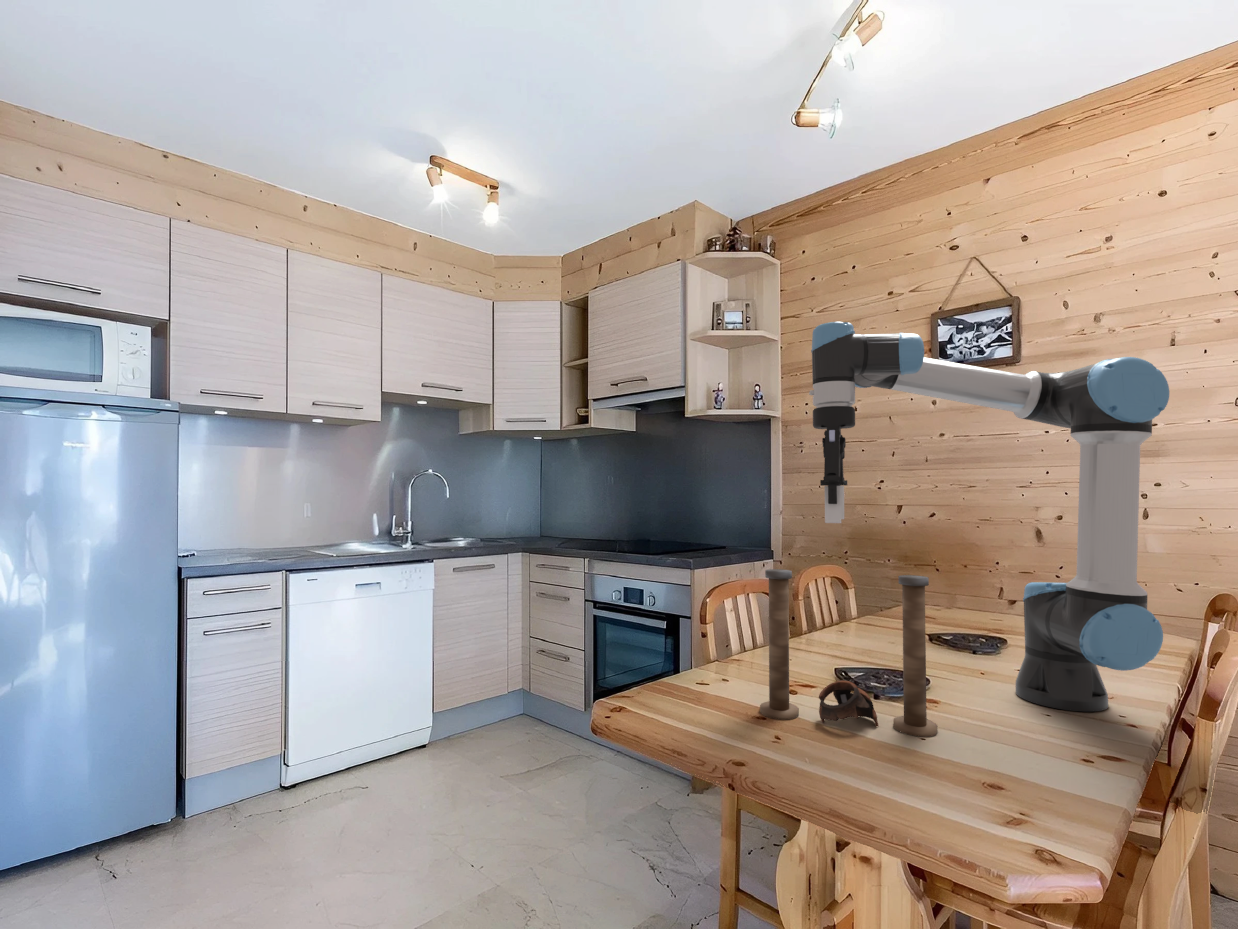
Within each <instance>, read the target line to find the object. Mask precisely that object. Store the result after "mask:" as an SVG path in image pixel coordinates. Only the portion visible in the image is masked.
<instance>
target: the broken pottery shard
mask: <svg viewBox="0 0 1238 929" xmlns="http://www.w3.org/2000/svg"><path fill="white" fill-rule="evenodd" d="M832 693H833V694H832ZM831 694H832V695H833V697H834V699H835V700H836V702H837V704H834V705H833V704H827V703H826V702H825V700H826V698H827V697H828V696H829V695H831ZM818 699H819V700H820V701H819V708H818V714H819V718H820V720H821V722H822V723H825V720H827V721H834V722H838V721H839V720H841V721H843V720H846V719H848V718H849V719H850V718H854V719H856V720H857V719H859V718H868V719H872V721H874V725H875V727H876V726H878V727H879V722H878V715H877V712H876V711H875V707H874V702H872V699H871V697H870V695H869V694H868V693H867V692H866V691H864V690H863V689H861V688H860V687H858V686H857V685H856V684H855V683H854V682H852V681H849V680H843V679H840V680H838V681H834V682H831V683H830V684H828V685H826V686H825V687H823V689H822V690H821V691H820V692H819V694H818ZM858 716H860V717H858Z"/></svg>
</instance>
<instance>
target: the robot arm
mask: <svg viewBox="0 0 1238 929" xmlns="http://www.w3.org/2000/svg"><path fill="white" fill-rule="evenodd" d="M854 328H855V327H854V325H853V324H852V323H851V322H848V321H831V322H825V323H821V324H819V325H816V327H815V328H814V329H813V330H812V340H811V350H810V351H811V352H810V353H811V364H812V365H811V367H812V368H811V371H812V374H811V375H812V389H810V390H809V392H808V394H809V395H810V396H812V405H813V406H814V408H813V410H812V427H813V428H814V429H815V430H816V429H818V430H824V433H823V436H824V437H822V443H821V444H822V448H823V449H822V450H823V451H822V452H823V458H824V467H823V468H824V470H823V471H824V473H823V475H824V476H823V479H820V481H819V482H820V486H821V487H823V486H824V523H825V524H842V520H845V486H848V480H847V479H846V480H845V477H844V459H845V456H846V454H845V449H846V447H847V446H846V440H847V439H846V437H844V436H843V435H842V429H845V430H846V429H851V428H854V427H855V426H856V409H855V407H854V406H853V405H854V404H856V388H859V389H866V388H871V387H872V388H873V387H874V388H878V389H879V388H880V389H885V390H886V389H887V390H892V391H897V392H898V391H899V392H903V393H909V394H913V395H914V394H915V395H919V396H924V397H925V396H926V397H930V398H936V399H940V400H947V401H953V402H957V403H962V404H963V403H964V404H969V405H974V406H980V407H985V408H990V409H995V410H1002V411H1007V412H1012V413H1013V414H1014V416H1015V417H1016V418H1018V419H1021V420H1027V421H1031V422H1037V423H1043V424H1046V425H1051V426H1055V427H1060V428H1066V429H1070V437H1071V438H1072V439H1073V440H1075V441H1076V442H1077V443H1078V444H1079V446H1080V447H1079V476H1078V477H1079V478H1078V480H1079V481H1078V482H1079V483H1078V512H1077V513H1078V514H1077V544H1076V546H1077V548H1076V549H1077V550H1076V575H1075V576H1074V577H1073V578H1072V579H1070V581H1069V580H1068V582H1044V581H1043V582H1042V581H1041V582H1040V581H1038V582H1037V581H1036V582H1035V581H1034V582H1033V581H1032V582H1029V583H1027V584H1026V585H1025V586H1024V592H1023V598H1022V602H1023V614H1024V615H1023V618H1024V619H1023V620H1024V621H1023V622H1024V658H1023V660H1022V663H1021V666H1020V668H1019V670H1018V674H1017V676H1016V679H1015V694H1016V695H1017V696H1018V697H1019V698H1021V699H1023V700H1024V701H1025V700H1026V701H1028V702H1030V703H1034V704H1037V705H1039V706H1043V707H1048V708H1052V709H1058V710H1064V711H1070V712H1085V713H1086V712H1089V713H1090V712H1102V711H1104V710H1107V709H1108V707H1109V694H1108V692H1107V689H1106V687H1105V684H1104V680H1103V679H1102V676H1101V674H1100V671H1099V668H1098V666H1099V667H1102V668H1107V669H1110V670H1115V671H1119V672H1120V671H1121V672H1123V671H1126V672H1127V671H1133V670H1137V669H1140V668H1142V667H1144V666H1146V664H1148V663H1149V662H1152V661H1153V660H1154V659H1155V657H1157V656H1158V654H1159V652H1160V651H1161V648H1162V646H1163V642H1164V632H1163V631H1164V630H1163V627H1162V624H1161V623H1160V620H1159V619H1157V618H1156V617H1155V614H1153V613H1152V612H1151V611H1149V609H1148V592H1147V590H1145V589H1144V587H1142V586H1141V585H1140V584H1139V583H1138V581H1137V580H1138V579H1137V578H1138V577H1137V576H1138V547H1139V546H1138V545H1139V544H1138V543H1139V542H1138V541H1139V540H1138V539H1139V514H1140V512H1139V509H1140V508H1139V507H1140V506H1139V504H1140V503H1139V502H1140V474H1141V473H1140V472H1141V471H1140V467H1141V445H1142V444H1144V442H1145V441H1147V440H1148V439H1149V438H1151V437H1152V435H1153V419H1155V418H1156V417H1158V416H1159V415H1160V414H1161V413H1162V411H1164V410H1165V409H1166V407H1167V405H1168V403H1169V400H1170V386H1169V383H1168V380H1167V378H1166V377H1165V375H1164V374H1163V372H1162V371H1161V370H1160V369H1159V368H1157V367H1156V366H1155V365H1154V364H1153V363H1151V362H1149V361H1147V360H1146V359H1143V358H1139V357H1134V356H1122V357H1118V358H1117V357H1115V358H1107V359H1103V360H1101V361H1099V362H1096V363H1094V364H1091V365H1086V366H1084V367H1080V368H1077V369H1073V370H1068V371H1061V372H1041V371H1040V372H1039V371H1036V370H1031V371H1028V372H1026V373H1025V374H1022V373H1016V372H1011V371H1010V372H1009V371H1004V370H999V369H995V368H994V369H993V368H987V367H982V366H977V365H970V364H964V363H958V362H953V361H948V360H942V359H937V358H936V359H935V358H931V357H930V358H929V357H925V345H924V341H923V339H922V337H921V336H920V335H919V334H917V333H909V332H908V333H906V332H905V333H904V332H901V331H900V332H899V333H896V332H895V333H874V334H873V333H872V334H871V333H870V334H869V333H867V334H866V333H865V334H864V333H863V334H860V333H856V331H855V329H854ZM815 407H816V408H815Z"/></svg>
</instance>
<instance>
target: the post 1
mask: <svg viewBox="0 0 1238 929" xmlns="http://www.w3.org/2000/svg"><path fill="white" fill-rule="evenodd" d="M765 578H767V579H768V671H769V672H768V678H769V679H768V685H769V686H768V687H769V689H768V690H769V691H768V696H769V698H768V701H764V702H762V703H760V704H759V713H760V714H761V715H762V716H764V717H767V718H770V719H774V720H785V721H786V720H793V719H797V718H798V717H799V715H800V713H799V712H800V708H799V707H798V706H797V705H796V704H794V703H791V702H790V623H789V622H790V620H789V618H790V617H789V616H790V612H789V611H790V610H789V609H790V607H789V606H790V605H789V603H790V602H789V600H790V598H789V597H790V596H789V595H790V594H789V590H790V589H789V580H790V579H793V571H792V570H790V569H778V568H775V569H774V568H772V569H771V568H769V569H765Z"/></svg>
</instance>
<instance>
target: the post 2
mask: <svg viewBox="0 0 1238 929" xmlns="http://www.w3.org/2000/svg"><path fill="white" fill-rule="evenodd" d="M898 584H899V585H901V587H902V588H901V590H902V593H901V594H902V595H901V596H902V600H901V601H902V675H903V678H902V679H903V682H902V683H903V684H902V685H903V691H902V692H903V715H900V716H895V717H894V718H893V719H892V725H893V726H892V727H893V728H894V730H896V731H897V730H898V732H899V731H901V732H900V733H901V734H904V733H905V735H908V736H913V737H921V738H922V737H923V738H928V737H934V736H937V735H938V733H939V732H938V730H939V728H938V724H937V723H936V722H934V721H933V720H930V719H928V717H927V658H926V656H927V655H926V652H927V648H926V643H927V642H926V639H927V638H926V637H927V636H926V635H927V634H926V586H929V584H930V581H929V577H927V576H924V575H912V574H904V575H903V574H902V575H898Z"/></svg>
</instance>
